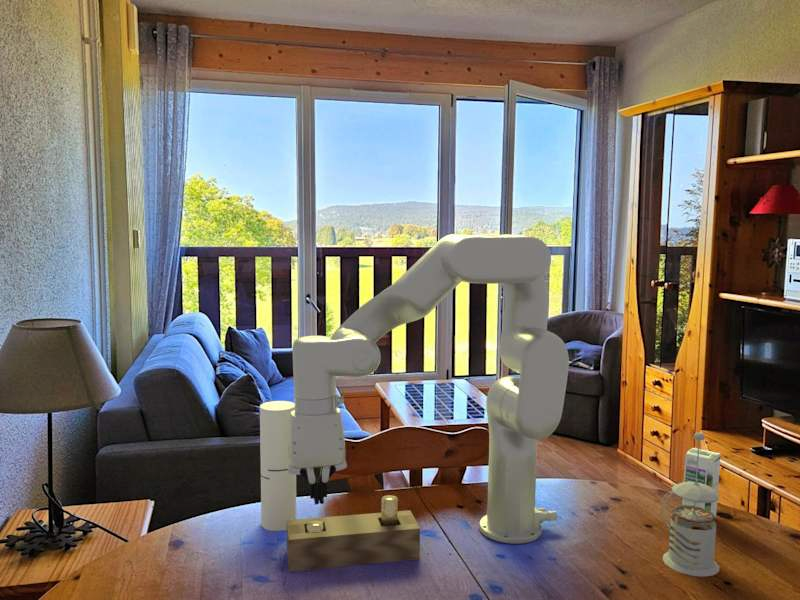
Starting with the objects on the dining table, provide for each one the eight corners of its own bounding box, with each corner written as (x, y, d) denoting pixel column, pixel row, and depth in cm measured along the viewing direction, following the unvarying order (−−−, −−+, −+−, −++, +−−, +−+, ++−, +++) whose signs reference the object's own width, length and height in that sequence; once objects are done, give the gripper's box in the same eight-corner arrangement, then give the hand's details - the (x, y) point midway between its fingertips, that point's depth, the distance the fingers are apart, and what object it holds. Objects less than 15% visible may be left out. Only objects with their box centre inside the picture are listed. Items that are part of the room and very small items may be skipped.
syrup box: (680, 518, 146) (684, 452, 145) (689, 509, 151) (693, 445, 149) (708, 526, 143) (713, 459, 141) (716, 517, 147) (721, 451, 145)
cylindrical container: (289, 532, 138) (288, 411, 134) (255, 529, 139) (254, 409, 136) (301, 517, 144) (300, 402, 141) (269, 514, 146) (268, 399, 143)
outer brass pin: (322, 550, 129) (322, 520, 128) (324, 558, 126) (324, 527, 126) (306, 551, 129) (306, 521, 128) (307, 559, 126) (307, 528, 125)
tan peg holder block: (409, 539, 135) (410, 510, 135) (419, 559, 128) (420, 528, 127) (286, 550, 130) (286, 520, 130) (289, 571, 123) (288, 539, 122)
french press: (694, 581, 121) (703, 444, 118) (643, 552, 131) (651, 425, 128) (731, 568, 125) (741, 436, 122) (679, 542, 136) (687, 419, 133)
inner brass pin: (395, 524, 132) (395, 494, 131) (398, 531, 129) (399, 501, 128) (380, 525, 131) (380, 495, 130) (382, 532, 128) (383, 502, 127)
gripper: (353, 396, 129) (355, 489, 132) (272, 402, 126) (276, 497, 128) (359, 407, 122) (362, 505, 124) (274, 413, 119) (278, 514, 121)
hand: (318, 501), depth 126 cm, fingers closed
